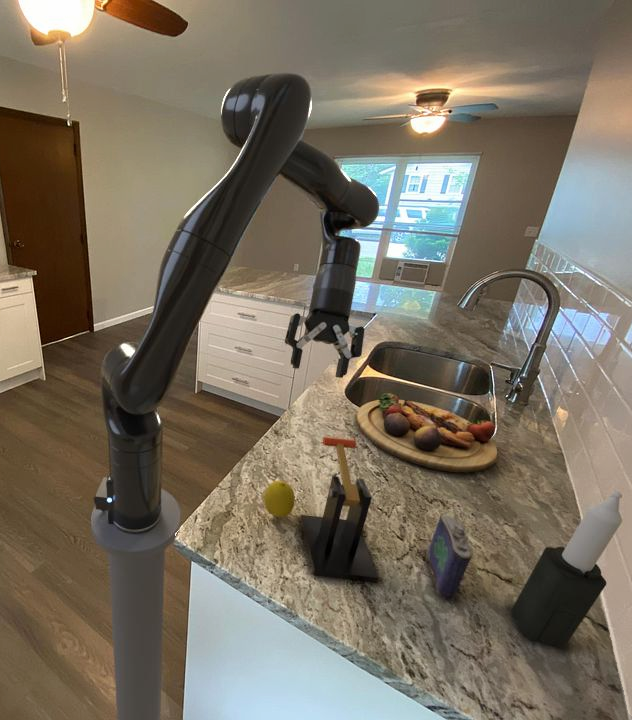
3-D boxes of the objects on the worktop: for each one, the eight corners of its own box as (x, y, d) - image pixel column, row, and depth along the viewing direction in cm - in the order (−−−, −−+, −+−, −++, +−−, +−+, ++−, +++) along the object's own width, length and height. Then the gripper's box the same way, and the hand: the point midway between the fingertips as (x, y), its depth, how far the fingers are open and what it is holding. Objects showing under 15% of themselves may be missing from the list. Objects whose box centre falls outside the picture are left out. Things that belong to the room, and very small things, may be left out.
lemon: (294, 526, 72) (301, 493, 69) (265, 526, 72) (270, 492, 69) (286, 505, 77) (292, 472, 74) (259, 504, 77) (264, 472, 74)
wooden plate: (490, 428, 107) (500, 402, 104) (502, 494, 82) (516, 463, 79) (365, 395, 123) (371, 372, 120) (344, 443, 98) (350, 414, 95)
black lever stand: (300, 519, 74) (312, 460, 69) (354, 525, 73) (370, 466, 68) (313, 575, 63) (328, 510, 58) (376, 583, 62) (398, 517, 57)
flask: (423, 550, 68) (441, 503, 64) (442, 555, 67) (462, 508, 63) (438, 598, 60) (460, 547, 56) (459, 604, 59) (484, 553, 55)
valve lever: (321, 441, 72) (324, 433, 70) (351, 443, 71) (355, 436, 70) (331, 504, 64) (335, 498, 62) (365, 508, 63) (370, 502, 61)
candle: (524, 638, 55) (605, 501, 45) (508, 605, 59) (579, 474, 50) (568, 651, 53) (662, 512, 44) (548, 616, 58) (630, 483, 48)
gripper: (303, 280, 72) (286, 364, 71) (378, 295, 72) (362, 380, 71) (291, 289, 80) (276, 366, 79) (360, 303, 79) (345, 380, 78)
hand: (317, 372), depth 75 cm, fingers open, 8 cm apart
